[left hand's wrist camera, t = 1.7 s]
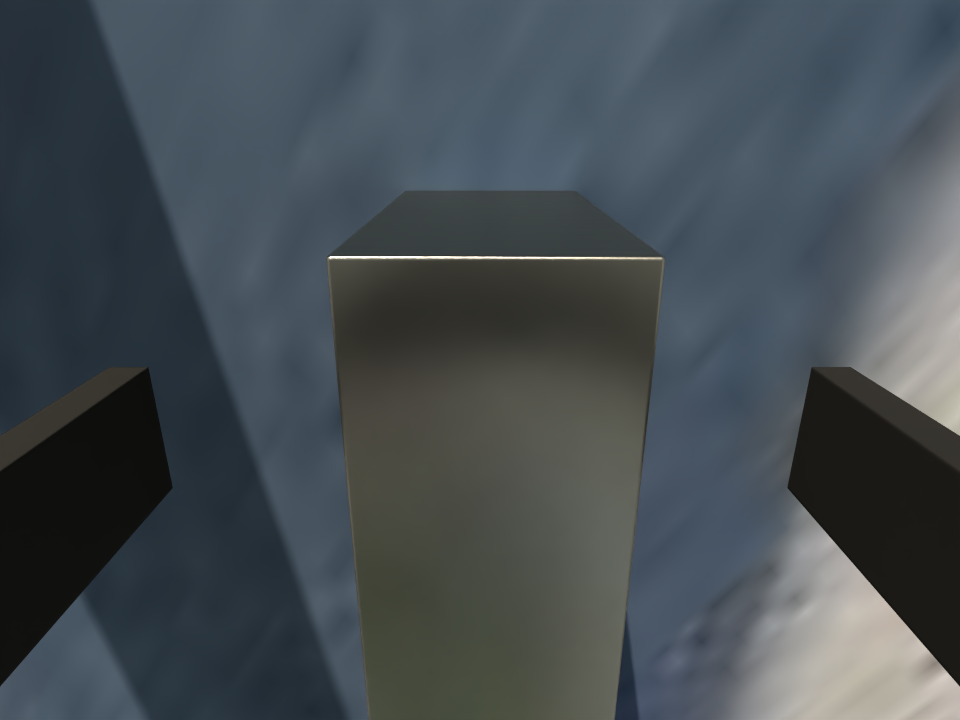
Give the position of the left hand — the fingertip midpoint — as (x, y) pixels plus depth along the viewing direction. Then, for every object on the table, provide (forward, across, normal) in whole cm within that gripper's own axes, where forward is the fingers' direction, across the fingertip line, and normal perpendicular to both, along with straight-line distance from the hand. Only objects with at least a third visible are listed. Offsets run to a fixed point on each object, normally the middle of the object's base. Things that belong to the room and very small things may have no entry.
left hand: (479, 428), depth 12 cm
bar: (+6, 0, -8) cm, 10 cm away
